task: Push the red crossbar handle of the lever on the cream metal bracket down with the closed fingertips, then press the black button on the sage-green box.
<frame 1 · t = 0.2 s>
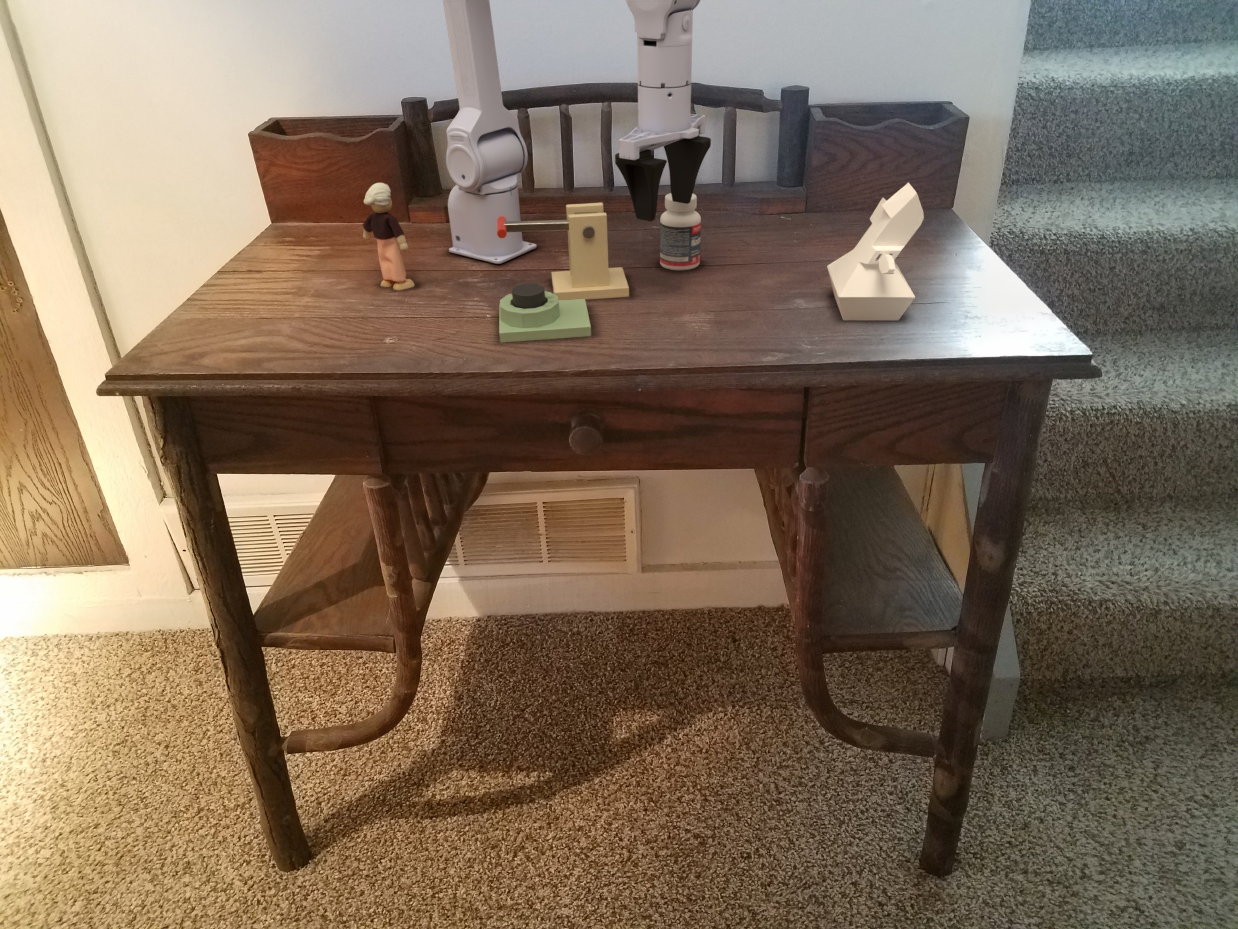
hand: (663, 210, 100), 10 cm above the table, tool pointing down, fingers open, 7 cm apart
lever: (548, 225, 103), point 8 cm above the table, hinge at 2.0°
beige angled stand: (866, 310, 100), on the table
pill bottle: (679, 265, 114), on the table
bracket: (589, 288, 107), on the table
grandmother figurine: (394, 285, 110), on the table
button box: (544, 324, 99), on the table
button: (528, 296, 97), point 3 cm above the table, slide at 0.1 cm
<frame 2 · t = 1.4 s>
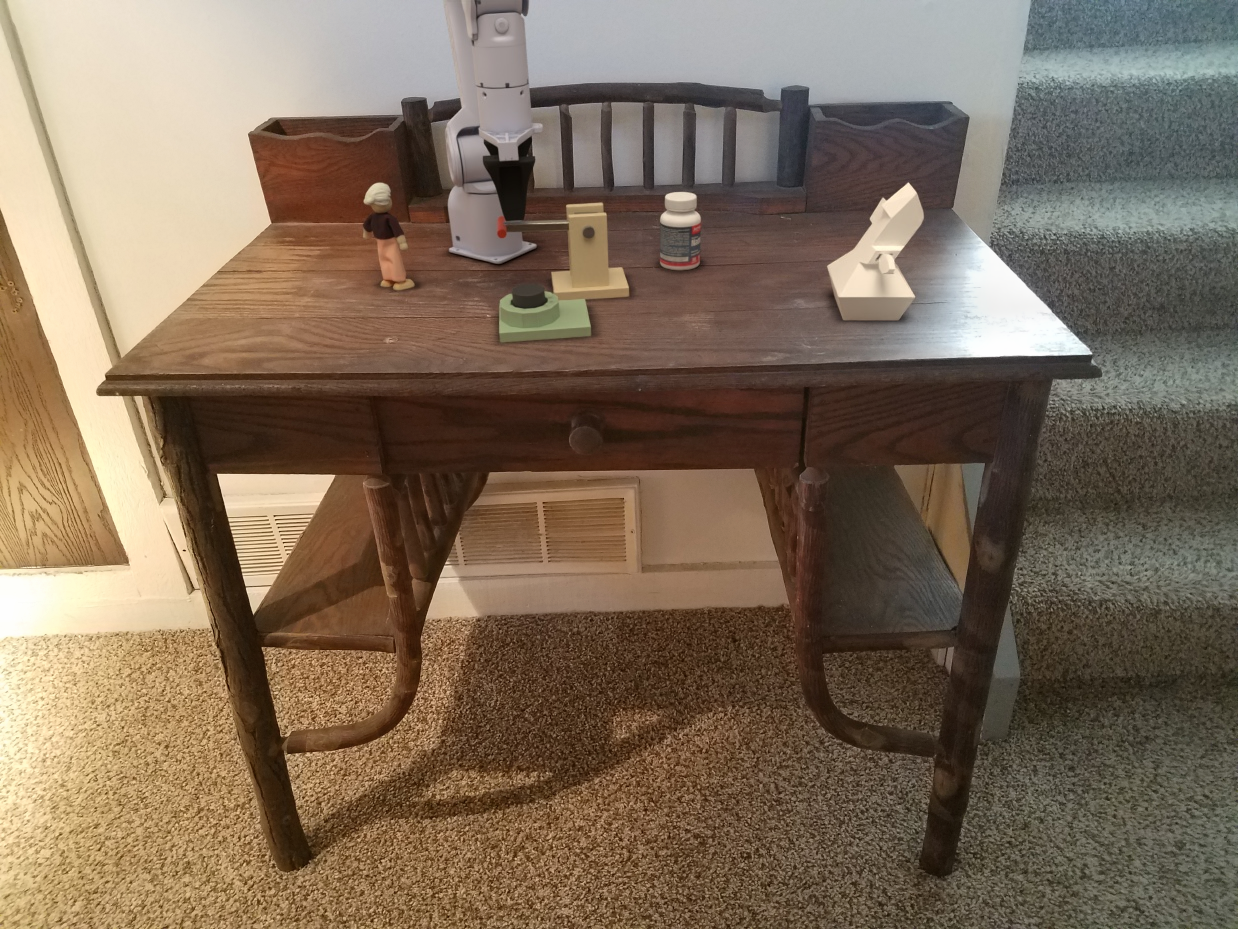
hand: (513, 209, 101), 10 cm above the table, tool pointing down, fingers open, 7 cm apart
nothing on the table moved.
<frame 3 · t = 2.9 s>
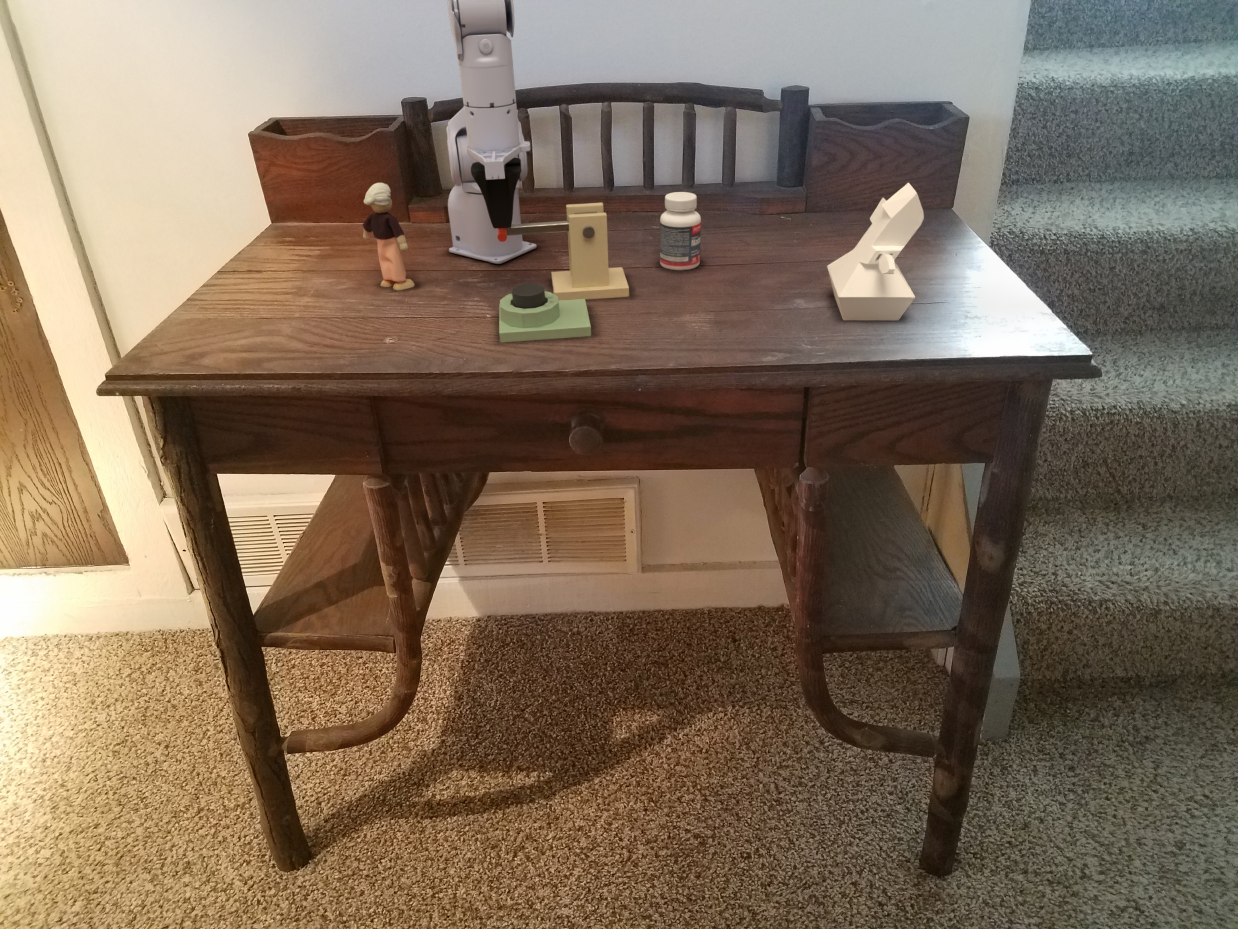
hand: (502, 226, 102), 8 cm above the table, tool pointing down, fingers closed, pressing on lever
lever: (548, 227, 103), point 8 cm above the table, hinge at -0.4°, touching gripper
everything else where it was.
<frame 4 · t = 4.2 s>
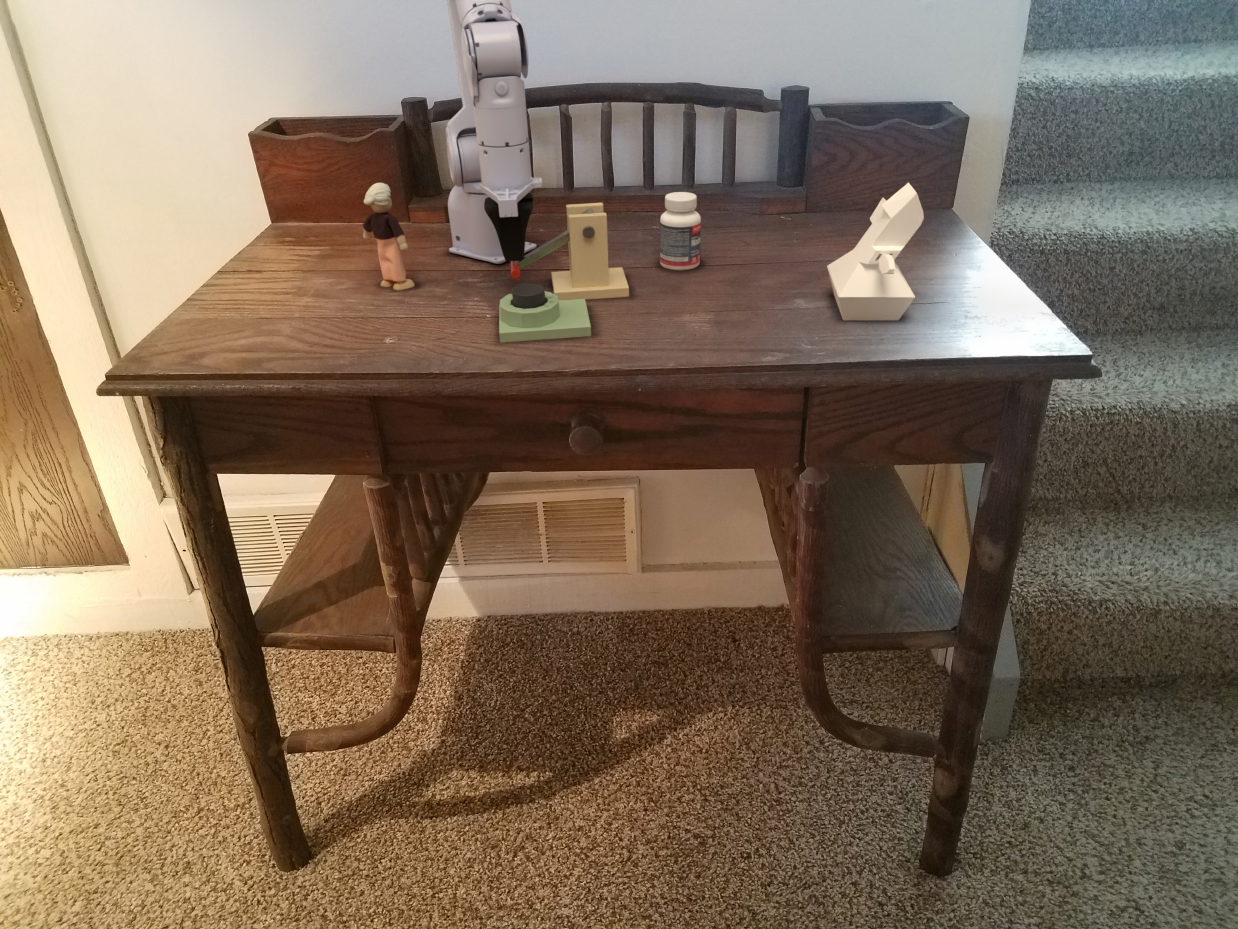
hand: (514, 259, 104), 4 cm above the table, tool pointing down, fingers closed, pressing on lever
lever: (553, 244, 104), point 6 cm above the table, hinge at -27.6°, touching gripper
everything else where it was.
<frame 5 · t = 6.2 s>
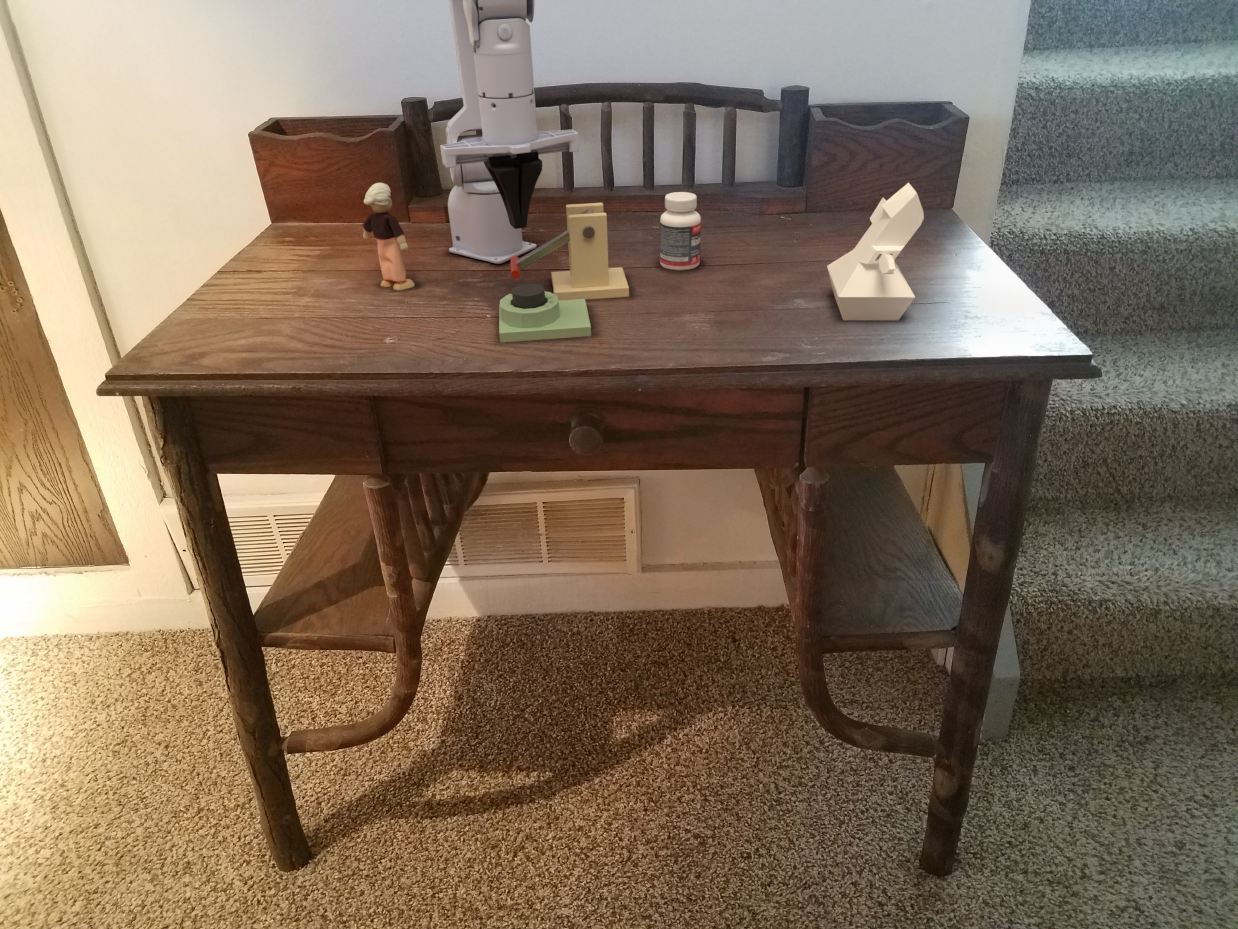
hand: (518, 225, 96), 10 cm above the table, tool pointing down, fingers closed
lever: (553, 244, 104), point 6 cm above the table, hinge at -27.6°
everything else where it was.
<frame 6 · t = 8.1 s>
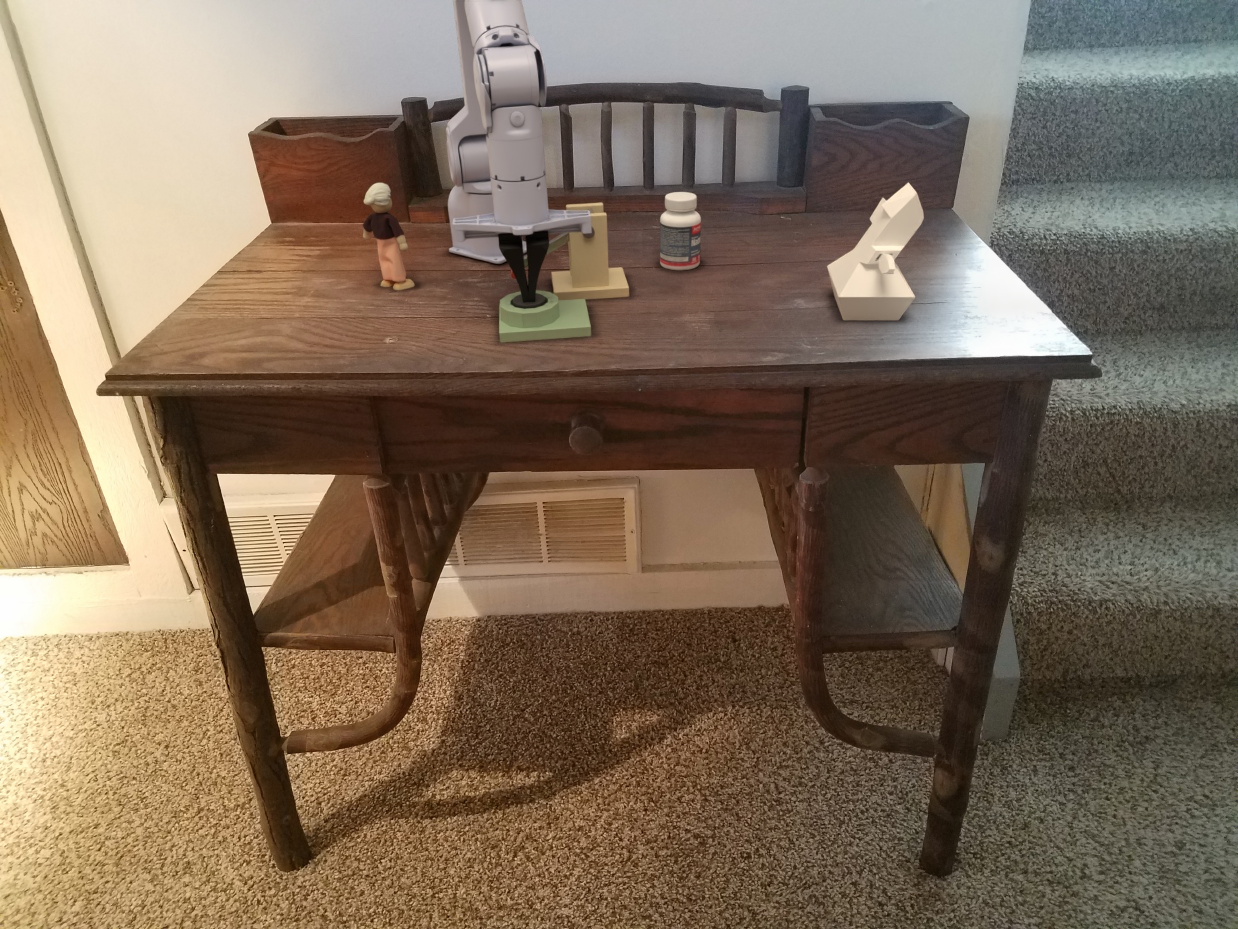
hand: (529, 299, 97), 3 cm above the table, tool pointing down, fingers closed, pressing on button
button: (529, 306, 97), point 2 cm above the table, slide at -1.0 cm, touching gripper
everything else where it was.
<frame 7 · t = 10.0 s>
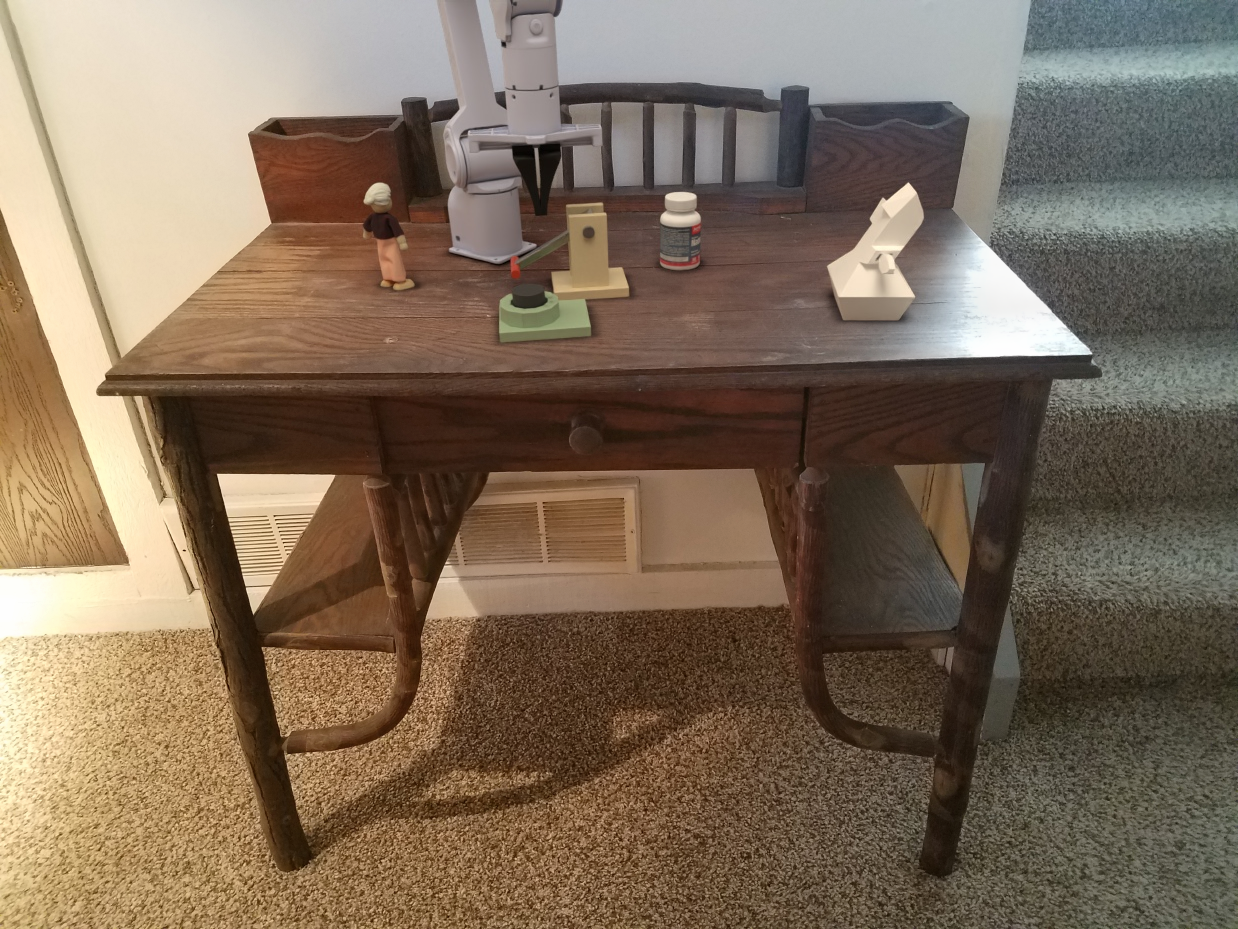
hand: (541, 213, 100), 10 cm above the table, tool pointing down, fingers closed
button: (528, 296, 97), point 3 cm above the table, slide at 0.1 cm
everything else where it was.
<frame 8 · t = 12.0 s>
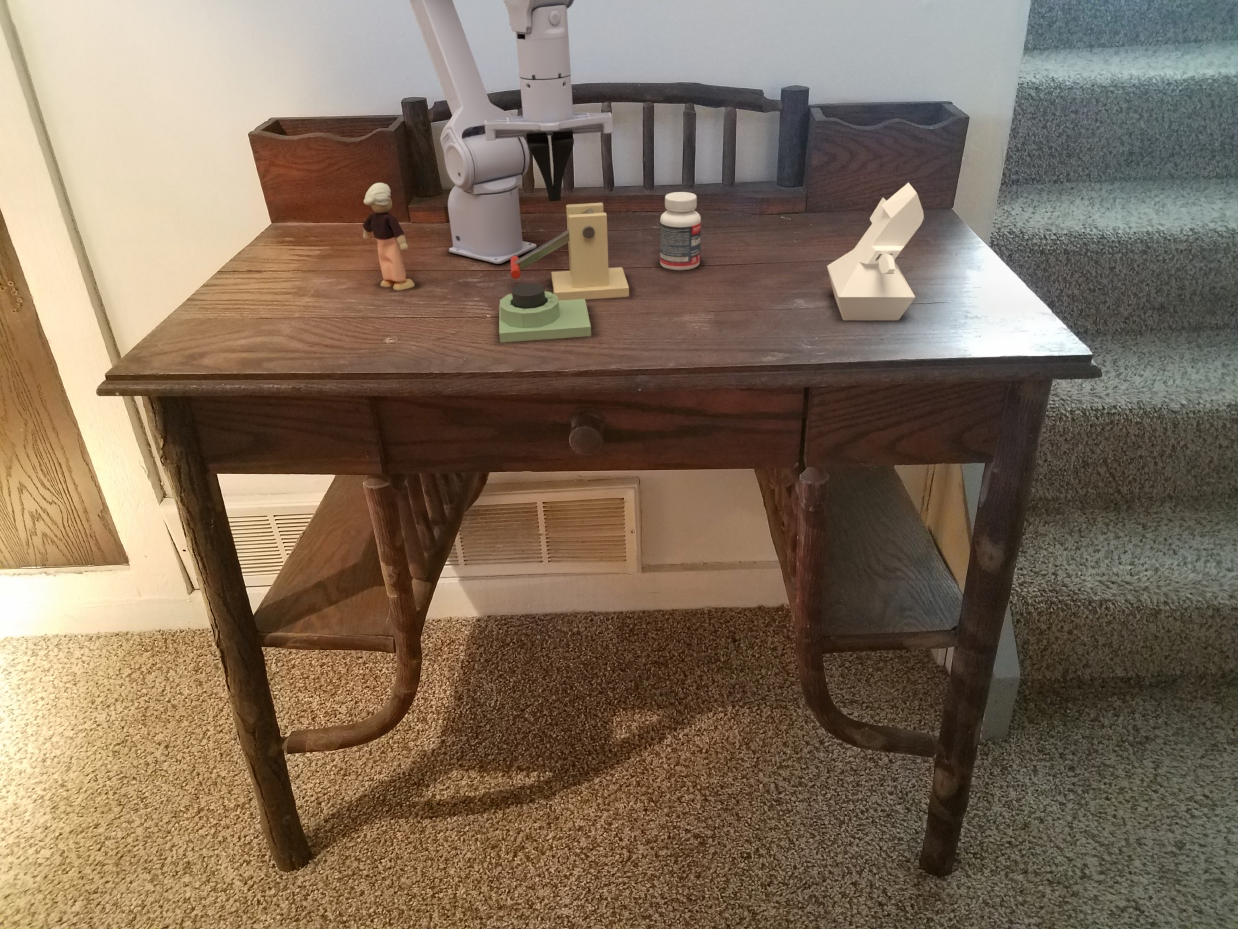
hand: (554, 198, 104), 10 cm above the table, tool pointing down, fingers closed
nothing on the table moved.
at the end: lever at -28° (first picture: +2°); button pushed in 1.2 cm at the most during the clip, back to where it started at the end; button slide at 0.1 cm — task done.
